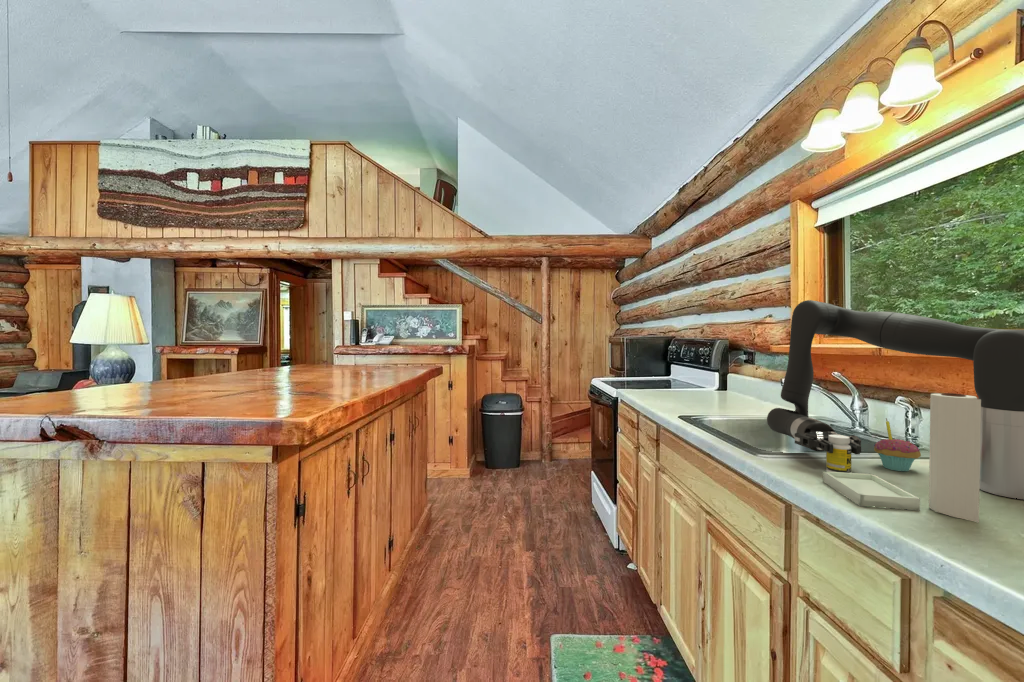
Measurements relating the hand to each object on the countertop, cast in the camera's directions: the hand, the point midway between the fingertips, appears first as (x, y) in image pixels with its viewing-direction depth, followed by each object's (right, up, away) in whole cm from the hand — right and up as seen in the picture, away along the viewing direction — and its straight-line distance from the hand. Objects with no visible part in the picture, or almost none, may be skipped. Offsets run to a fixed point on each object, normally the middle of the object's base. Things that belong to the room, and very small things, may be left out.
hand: (844, 449), depth 102 cm
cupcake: (+18, -7, +7) cm, 20 cm away
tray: (-4, -6, -11) cm, 13 cm away
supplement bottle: (+1, -6, +3) cm, 7 cm away
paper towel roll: (+4, -7, -21) cm, 22 cm away
